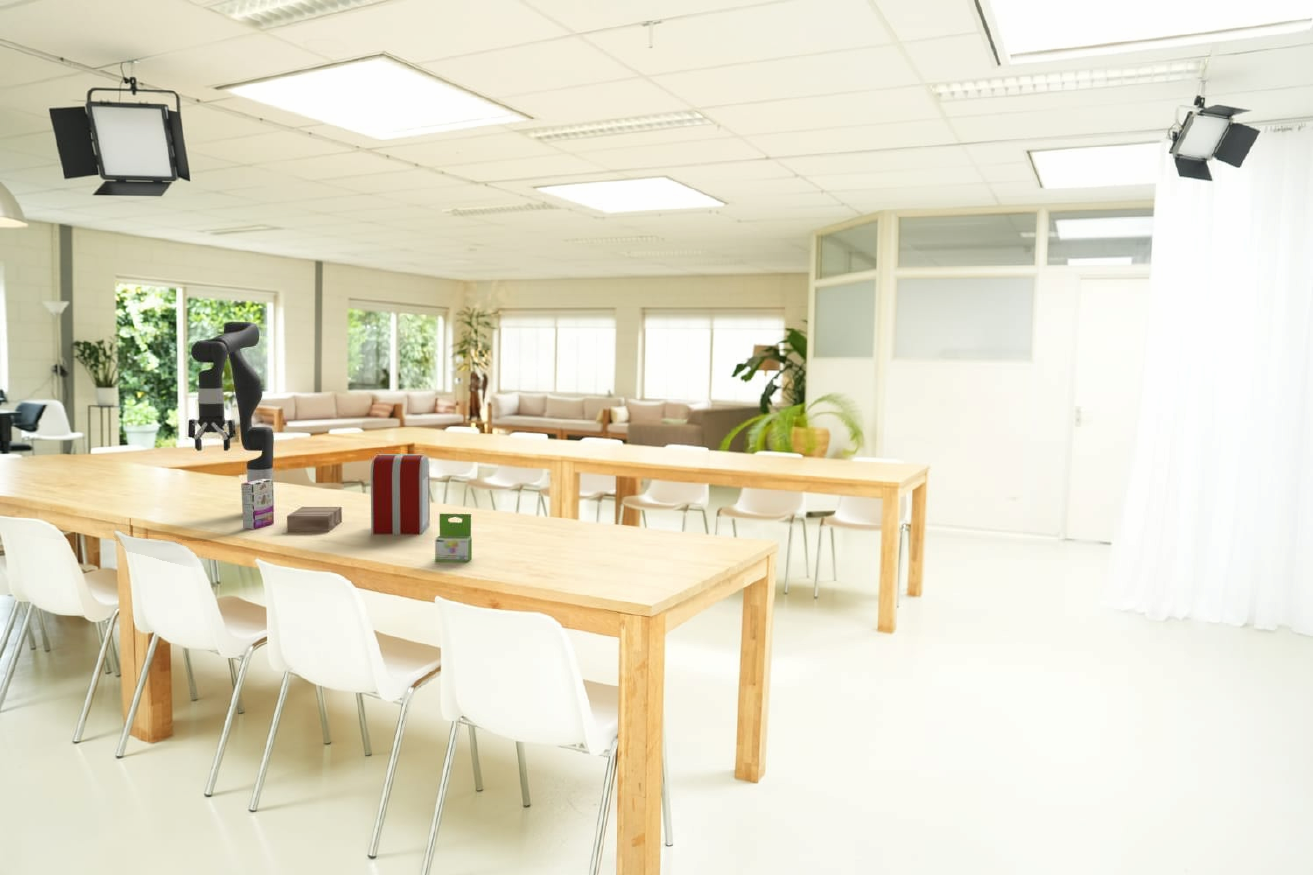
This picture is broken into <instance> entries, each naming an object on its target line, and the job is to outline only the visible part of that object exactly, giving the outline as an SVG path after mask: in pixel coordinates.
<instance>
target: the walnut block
mask: <svg viewBox="0 0 1313 875" xmlns="http://www.w3.org/2000/svg"><path fill="white" fill-rule="evenodd" d="M342 511H343V510H342V506H302V507H300V508H297V510H295V511H292V513H289V514H288V515H286V532H287V533H330V532H331V531H333V529H335V528H337V526H339V525H340V524H341V523H343V515H342V514H343V513H342Z"/></svg>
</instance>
